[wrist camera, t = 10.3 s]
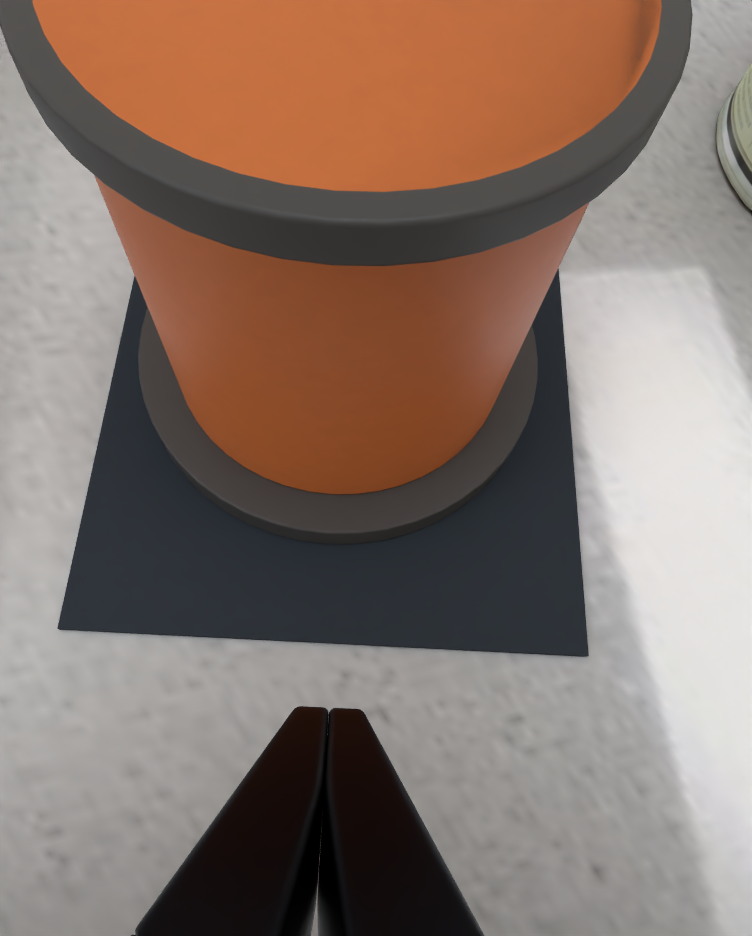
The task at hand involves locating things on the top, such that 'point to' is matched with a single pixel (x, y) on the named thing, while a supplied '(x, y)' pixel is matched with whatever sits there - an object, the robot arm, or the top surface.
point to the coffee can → (737, 138)
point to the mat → (334, 565)
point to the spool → (346, 223)
